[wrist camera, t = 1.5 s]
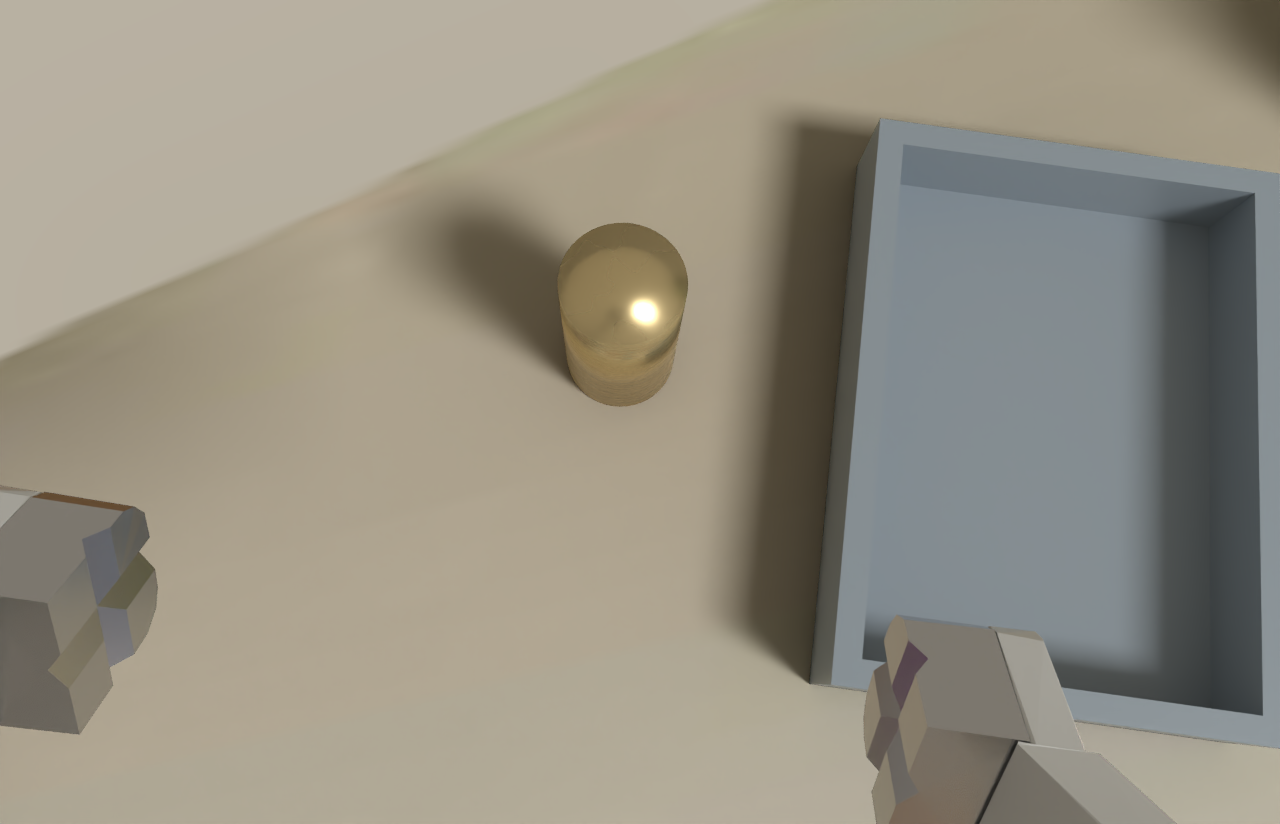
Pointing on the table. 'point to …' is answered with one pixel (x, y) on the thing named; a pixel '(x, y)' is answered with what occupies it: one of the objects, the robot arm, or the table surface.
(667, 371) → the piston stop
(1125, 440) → the tray
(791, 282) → the table surface
